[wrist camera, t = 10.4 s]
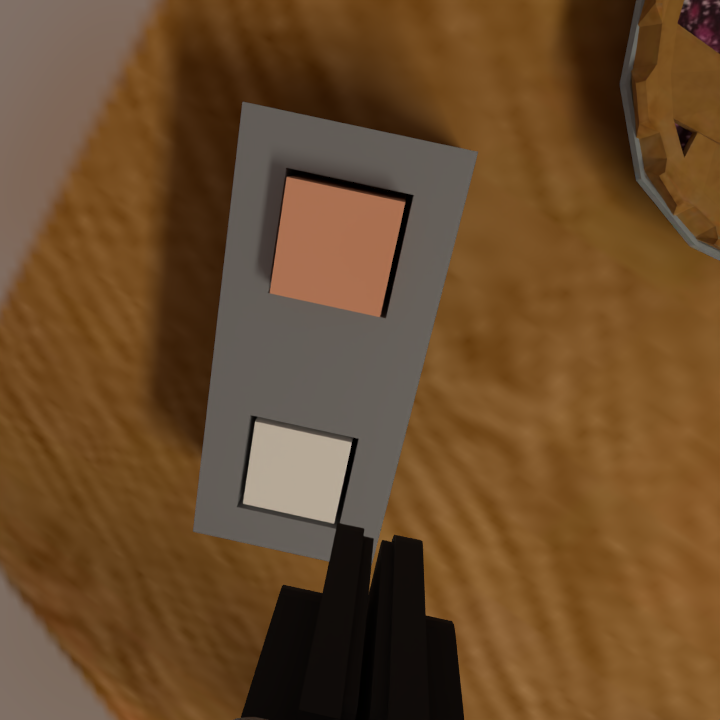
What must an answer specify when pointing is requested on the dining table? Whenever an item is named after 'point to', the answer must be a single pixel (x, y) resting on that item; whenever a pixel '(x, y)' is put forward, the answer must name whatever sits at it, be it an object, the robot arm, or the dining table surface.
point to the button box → (321, 325)
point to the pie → (677, 113)
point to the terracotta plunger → (336, 243)
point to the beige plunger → (296, 469)
